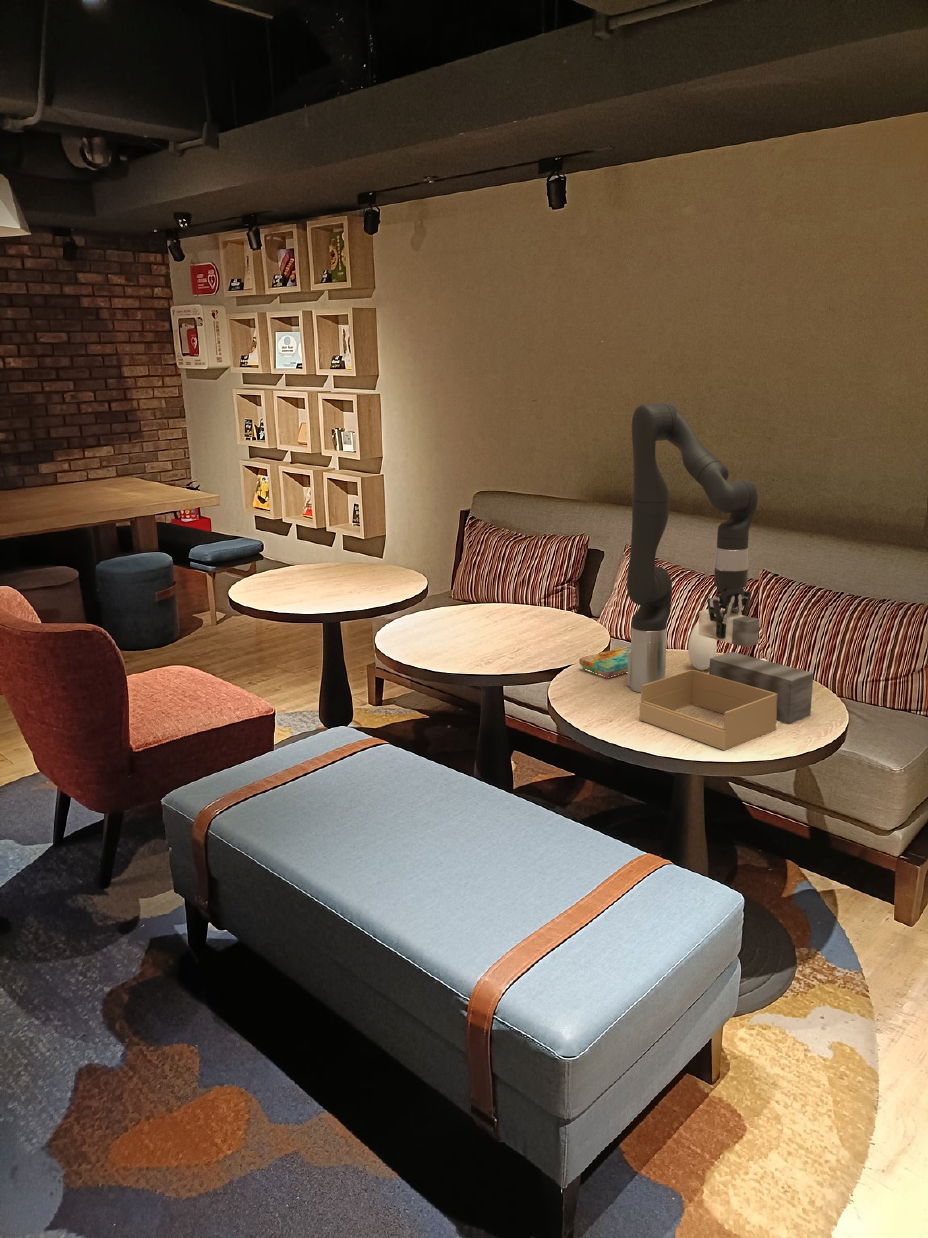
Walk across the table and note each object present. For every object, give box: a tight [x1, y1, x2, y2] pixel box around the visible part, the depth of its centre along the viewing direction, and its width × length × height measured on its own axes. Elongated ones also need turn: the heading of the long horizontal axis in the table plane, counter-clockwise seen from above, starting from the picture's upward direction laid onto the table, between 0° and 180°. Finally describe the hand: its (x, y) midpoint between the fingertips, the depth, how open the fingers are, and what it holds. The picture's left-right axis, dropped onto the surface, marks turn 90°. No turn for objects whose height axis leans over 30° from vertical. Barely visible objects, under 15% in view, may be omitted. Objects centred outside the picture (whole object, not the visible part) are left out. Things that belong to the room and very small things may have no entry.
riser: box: [708, 651, 814, 725], centre depth 233 cm, size 24×9×11 cm, turn 37°
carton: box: [639, 669, 778, 751], centre depth 222 cm, size 25×20×9 cm
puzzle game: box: [578, 645, 631, 679], centre depth 267 cm, size 12×5×20 cm
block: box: [698, 608, 760, 648], centre depth 221 cm, size 14×4×6 cm, turn 36°
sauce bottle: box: [687, 620, 718, 671], centre depth 263 cm, size 8×8×18 cm
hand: (727, 635), depth 222 cm, fingers closed on block, 4 cm apart
